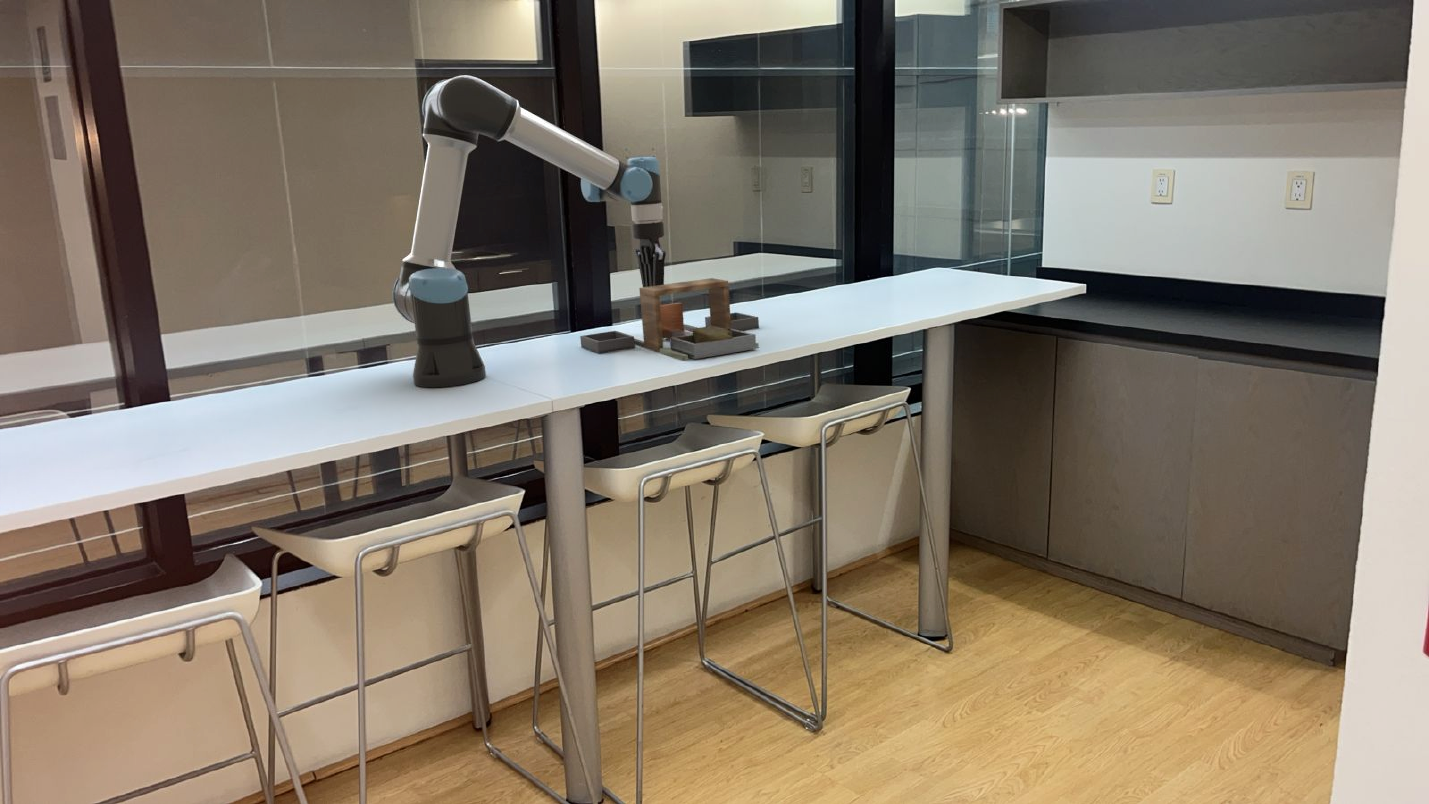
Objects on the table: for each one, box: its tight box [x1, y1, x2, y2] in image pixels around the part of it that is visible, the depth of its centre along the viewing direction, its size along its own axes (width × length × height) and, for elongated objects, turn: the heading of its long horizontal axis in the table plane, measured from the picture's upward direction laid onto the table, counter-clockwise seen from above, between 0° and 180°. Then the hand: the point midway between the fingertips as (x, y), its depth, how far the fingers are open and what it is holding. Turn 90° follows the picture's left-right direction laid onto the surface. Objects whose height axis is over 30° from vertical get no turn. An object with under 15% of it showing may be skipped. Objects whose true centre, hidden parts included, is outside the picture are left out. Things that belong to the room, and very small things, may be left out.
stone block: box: [692, 325, 733, 344], centre depth 239 cm, size 6×12×5 cm, turn 25°
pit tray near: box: [579, 330, 636, 355], centre depth 252 cm, size 9×11×3 cm
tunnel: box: [634, 277, 759, 361], centre depth 250 cm, size 19×37×14 cm, turn 28°
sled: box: [660, 302, 757, 360], centre depth 246 cm, size 16×30×8 cm, turn 28°
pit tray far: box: [704, 311, 760, 332], centre depth 267 cm, size 9×11×3 cm
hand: (655, 317), depth 264 cm, fingers closed
